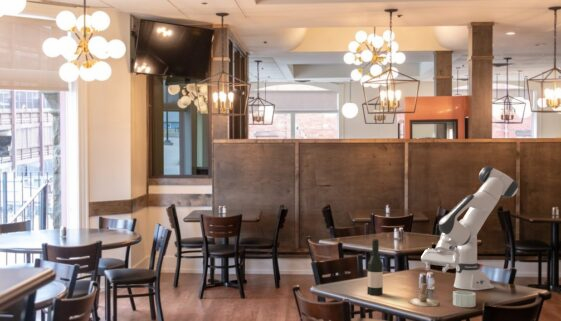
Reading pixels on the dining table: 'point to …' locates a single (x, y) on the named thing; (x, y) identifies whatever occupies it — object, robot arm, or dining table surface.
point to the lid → (423, 298)
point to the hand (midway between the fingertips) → (435, 270)
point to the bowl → (464, 298)
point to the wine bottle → (375, 271)
